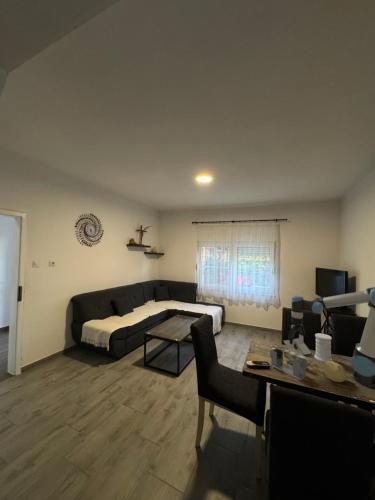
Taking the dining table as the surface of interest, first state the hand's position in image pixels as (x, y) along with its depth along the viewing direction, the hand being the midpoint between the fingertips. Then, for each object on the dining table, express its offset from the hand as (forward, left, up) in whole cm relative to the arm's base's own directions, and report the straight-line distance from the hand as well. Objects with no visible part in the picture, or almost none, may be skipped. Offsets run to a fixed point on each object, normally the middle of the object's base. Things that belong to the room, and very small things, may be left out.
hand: (296, 346), depth 154 cm
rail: (0, 0, -11) cm, 11 cm away
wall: (+10, -20, -14) cm, 27 cm away
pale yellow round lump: (-23, -4, -14) cm, 27 cm away
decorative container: (-7, -27, -14) cm, 31 cm away
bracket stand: (0, +12, -14) cm, 19 cm away
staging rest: (0, 0, -14) cm, 14 cm away
